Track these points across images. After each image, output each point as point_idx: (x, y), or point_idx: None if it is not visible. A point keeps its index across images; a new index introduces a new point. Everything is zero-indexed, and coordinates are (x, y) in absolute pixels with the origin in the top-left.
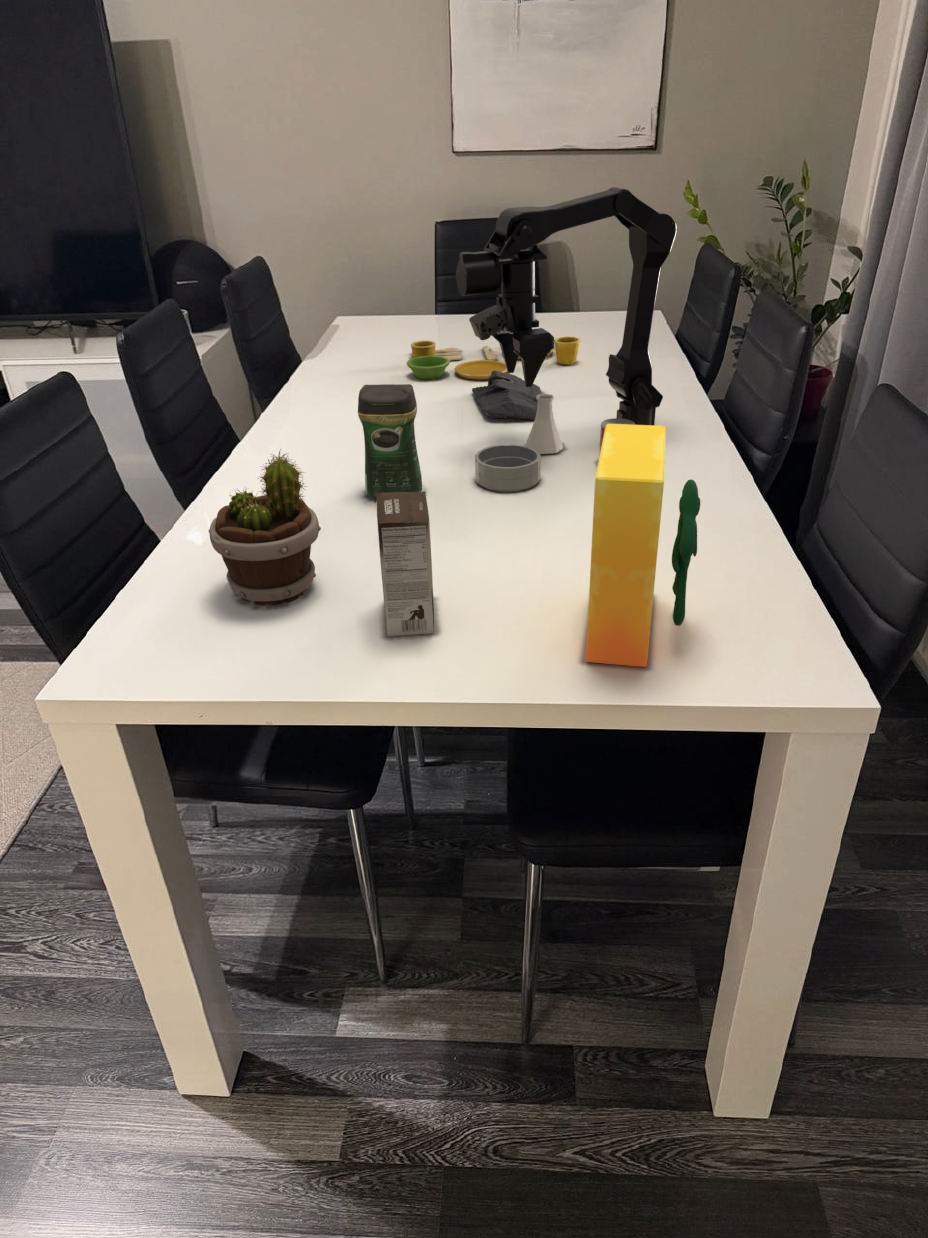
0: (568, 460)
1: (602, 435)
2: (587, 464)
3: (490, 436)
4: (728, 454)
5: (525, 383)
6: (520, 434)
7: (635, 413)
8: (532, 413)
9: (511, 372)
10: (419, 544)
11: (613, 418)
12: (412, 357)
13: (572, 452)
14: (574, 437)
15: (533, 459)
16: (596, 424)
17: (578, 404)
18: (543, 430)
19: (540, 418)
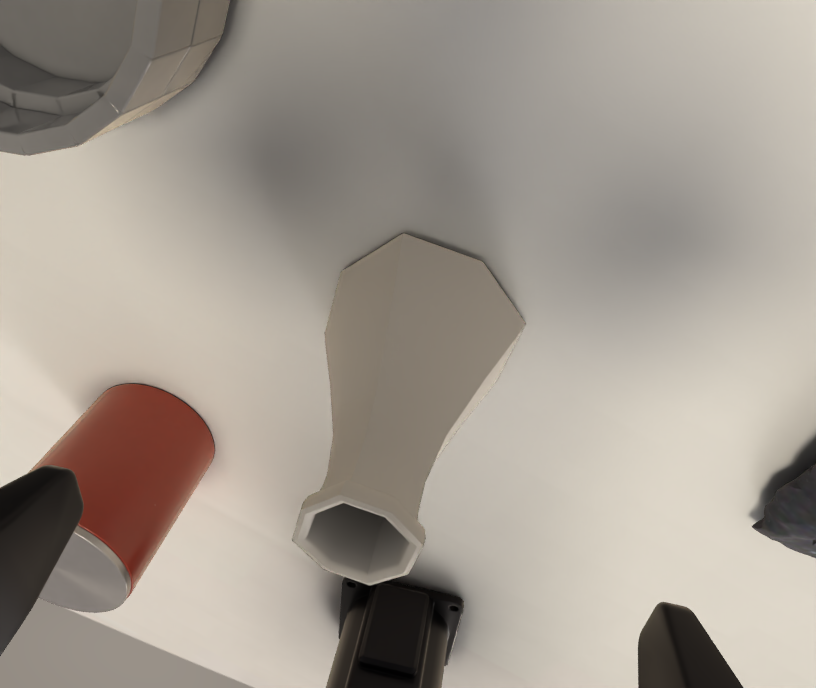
0: (242, 329)
1: None
2: (178, 361)
3: (782, 182)
4: (154, 644)
5: (14, 485)
6: (673, 336)
7: (336, 678)
8: (806, 502)
9: (648, 622)
10: None
11: (126, 590)
12: None
13: (322, 388)
14: (476, 479)
15: (50, 118)
16: (554, 595)
17: (800, 671)
18: (343, 360)
19: (358, 401)
